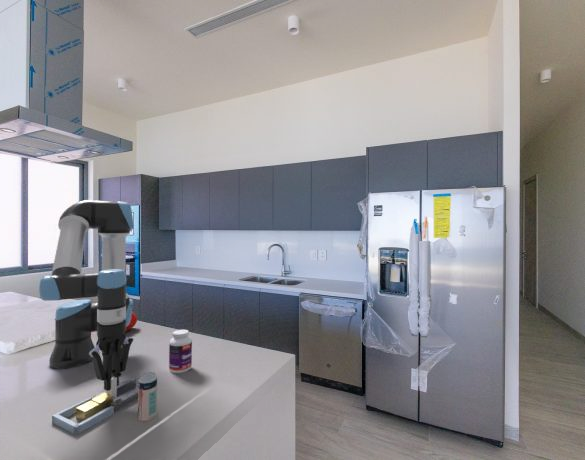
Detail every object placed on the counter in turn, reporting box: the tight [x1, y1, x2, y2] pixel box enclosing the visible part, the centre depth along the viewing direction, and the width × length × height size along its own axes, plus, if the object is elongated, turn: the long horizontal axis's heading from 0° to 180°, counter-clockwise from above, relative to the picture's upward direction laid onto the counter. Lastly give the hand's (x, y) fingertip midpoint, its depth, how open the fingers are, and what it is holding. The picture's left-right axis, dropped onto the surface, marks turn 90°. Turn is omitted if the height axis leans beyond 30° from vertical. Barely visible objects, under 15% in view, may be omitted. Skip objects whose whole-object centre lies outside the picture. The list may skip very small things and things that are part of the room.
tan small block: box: [75, 401, 100, 422], centre depth 84 cm, size 4×4×3 cm
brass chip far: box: [91, 393, 113, 412], centre depth 88 cm, size 4×4×3 cm
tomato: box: [126, 311, 138, 332], centre depth 154 cm, size 14×16×10 cm
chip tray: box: [51, 396, 115, 436], centre depth 83 cm, size 11×10×2 cm
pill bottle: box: [168, 329, 193, 374], centre depth 113 cm, size 8×8×14 cm
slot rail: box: [92, 377, 138, 413], centre depth 94 cm, size 10×13×2 cm
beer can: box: [137, 371, 158, 422], centre depth 85 cm, size 5×5×12 cm
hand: (111, 398), depth 91 cm, fingers closed
